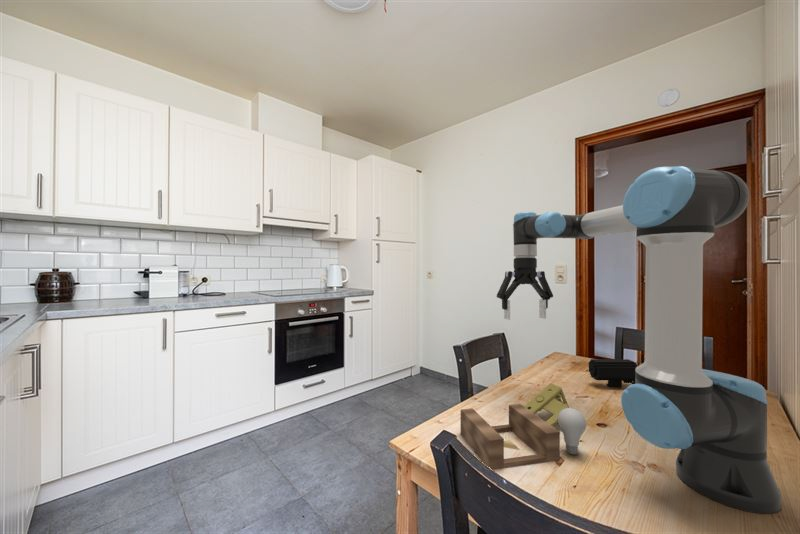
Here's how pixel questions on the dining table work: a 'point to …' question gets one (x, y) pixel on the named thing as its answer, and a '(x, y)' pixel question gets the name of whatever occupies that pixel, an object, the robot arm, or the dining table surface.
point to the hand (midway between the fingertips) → (525, 318)
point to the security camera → (613, 371)
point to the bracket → (548, 402)
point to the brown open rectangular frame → (492, 444)
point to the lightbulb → (571, 428)
